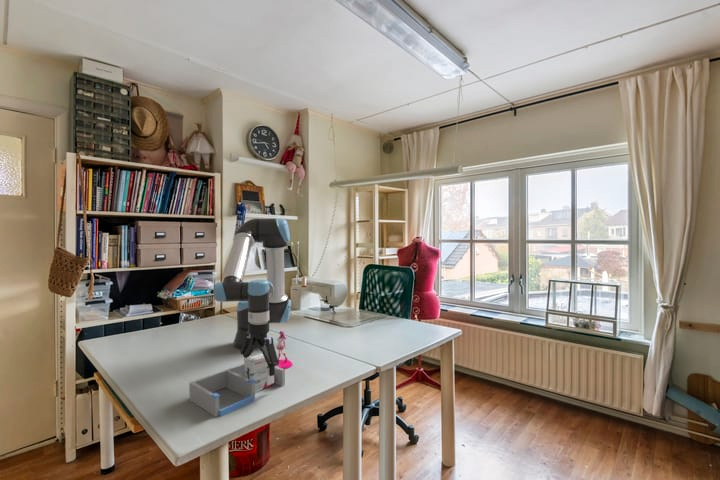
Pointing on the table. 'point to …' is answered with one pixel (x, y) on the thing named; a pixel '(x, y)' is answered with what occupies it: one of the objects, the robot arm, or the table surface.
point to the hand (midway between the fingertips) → (258, 378)
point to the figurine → (280, 346)
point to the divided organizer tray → (232, 379)
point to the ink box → (257, 371)
